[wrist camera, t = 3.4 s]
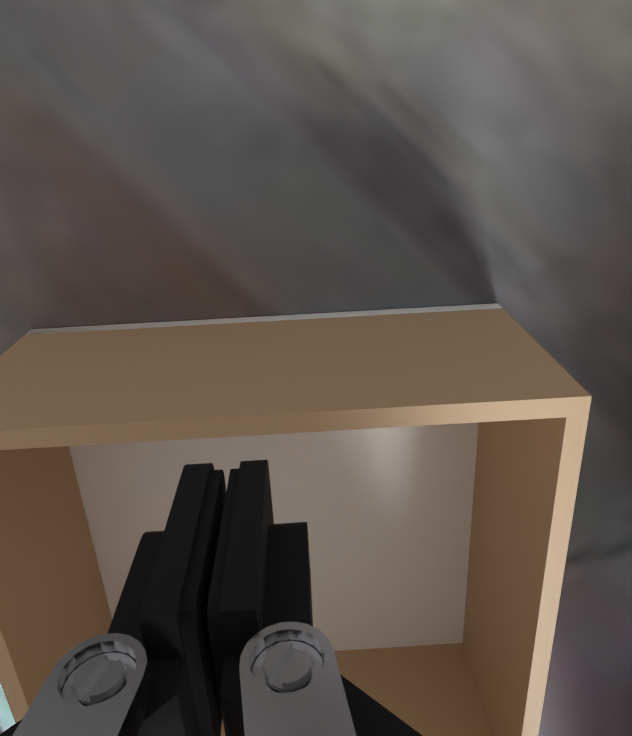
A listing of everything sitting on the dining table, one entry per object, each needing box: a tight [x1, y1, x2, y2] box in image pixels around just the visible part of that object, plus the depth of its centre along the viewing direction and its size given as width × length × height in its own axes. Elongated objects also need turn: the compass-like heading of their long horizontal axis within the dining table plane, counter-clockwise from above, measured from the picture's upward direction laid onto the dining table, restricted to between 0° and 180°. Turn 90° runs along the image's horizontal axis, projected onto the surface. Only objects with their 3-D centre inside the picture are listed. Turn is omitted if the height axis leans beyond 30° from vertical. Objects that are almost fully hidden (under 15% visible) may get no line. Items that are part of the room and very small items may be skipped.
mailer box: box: [0, 303, 592, 736], centre depth 23 cm, size 18×18×8 cm
